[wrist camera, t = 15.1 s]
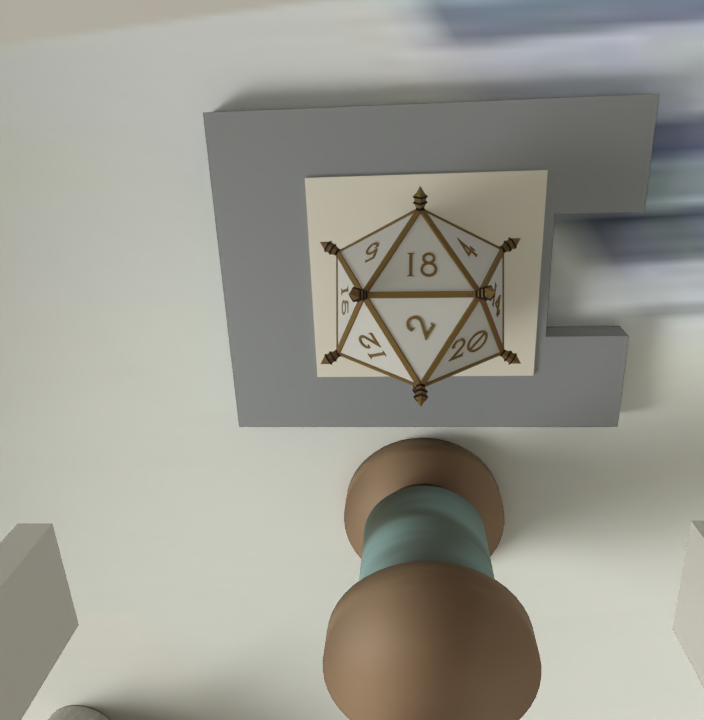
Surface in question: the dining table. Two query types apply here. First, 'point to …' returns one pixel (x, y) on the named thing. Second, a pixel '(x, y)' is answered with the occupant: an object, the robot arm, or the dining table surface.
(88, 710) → the house plant
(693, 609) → the robot arm
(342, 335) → the game die
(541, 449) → the dining table surface
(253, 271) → the notched board
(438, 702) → the bobbin
